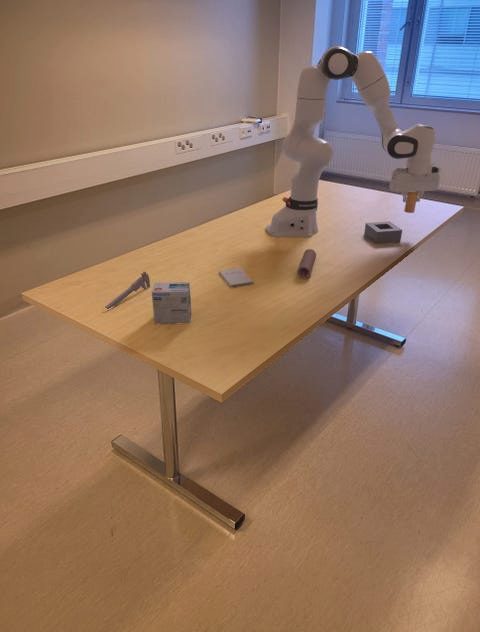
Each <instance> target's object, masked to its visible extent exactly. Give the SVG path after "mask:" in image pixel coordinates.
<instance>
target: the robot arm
mask: <svg viewBox="0 0 480 632" xmlns="http://www.w3.org/2000/svg"><path fill="white" fill-rule="evenodd" d="M347 78H350V79H351V80H352V81H353V83H354V85H355V88H356V90H357V92H358V95H359V96H360V98H361V100H362V101H363V103H364V104H365V106H366V107H367V109H369V110H370V111H371V113H373V116H374V118H375V120H376V122H377V125H378V127H379V130H380V132H381V145H382V149H383V150H384V152H385V153H387V154H388V155H389V156H390V157H391V158H393V159H397V160H400V159H406V164H405V165H406V166H405V167H397V168H396V169H394V170H393V171H392V173H391V174H392V175H391V178H390V183H389V190H390V191H391V192H393V193H401V196H402V202H403V203H406V202H408V198H407V193H408V192H410V191H415V192H418V195H417V200H416V203H419V202H421V198H422V196H424V194H425V192H430V191H431V192H433V191H437V190H438V188H439V187H440V186H439V185H440V180H441V175H440V173H441V170H442V169H441V167H439V166H437V165H434V163H433V164H432V163H431V157H432V152H433V149H434V145H435V139H436V131H435V129H434V128H433V127H432V126H430V125H428V124H424V123H416V124H415V125H413V126H411V127H409V128H408V129H405V130H403V128H401V127H400V126H398V124H397V122H396V120H395V117H394V114H393V112H392V110H391V107H390V98H391V88H390V87H391V86H390V84H389V80H388V77H387V74H386V72H385V70H384V68H383V66H382V65H381V62H380V60H379V59H378V58H377V56H376V55H375V53H374V52H373V51H371V50H364V51H360V52H359V53H357V54H355V53H353V52H351V50H349V49H348V48H347V47H345V46H343V45H333V46H331V47H329V48H327V49H326V50H325V52H324V53H323V54H322V56H321V58H320V59H319V61H318V63H317V64H316V65H309V66H305V68H303V69H302V70H301V73H300V76H299V79H298V85H297V93H296V105H295V106H296V107H295V114H294V119H293V120H294V121H293V124H292V127H291V130H290V131H289V133H288V134H287V135H286V136H285V137H284V138H283V140H282V143H281V153H282V154H283V155H284V156H285V157H286V158H288V159H289V160H290V161H292V162H295V163H299V164H300V165H299V170H298V172H297V173H295V175H293V177H292V178H291V182H290V184H291V185H290V196H289V197H286V196H284V197H282V199H281V200H282V201H283V202H284V203H285V206H283V208H281V209H280V210H278V211H276V212H275V213H274V214H273V216H272V218H271V223H270V224H266V226H265V230H266V231H265V232H266V233H268V234H269V235H270V236H271V237H274V238H310V237H312V236H313V235H315V234H317V233H318V232H319V228H318V222H317V221H318V220H317V211H318V204H319V203H318V202H319V201H318V200H319V199H318V189H319V182H320V177H321V176H322V173H323V171H324V170H325V168H326V167H328V166H329V165H330V164H331V162H333V159H334V155H335V151H334V147H333V145H332V144H331V143H330V142H328V141H327V140H325V139H323V138H320V137H316V136H315V131H316V129H317V128H318V126H319V125H320V124H321V123H323V121H324V118H325V109H326V99H327V89H328V85H329V83H330V81H332V80H335V81H340V80H343V79H344V80H345V79H347Z"/></svg>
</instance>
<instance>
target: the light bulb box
mask: <svg viewBox="0 0 480 632" xmlns="http://www.w3.org/2000/svg"><path fill="white" fill-rule="evenodd" d="M190 286H191V285H190V281H181V282H177V281H175V282H154V283H153V286H152V290H151V298H152V299H151V300H152V301H151V302H152V308H153V309H152V310H153V320H154V324H155V323H190V324H191V321H190V320H191V319H192V299H191V287H190Z"/></svg>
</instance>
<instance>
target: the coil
mask: <svg viewBox="0 0 480 632" xmlns="http://www.w3.org/2000/svg"><path fill="white" fill-rule="evenodd" d="M301 258H302V259H301V260H300V263H299V266H298V268H297V271H296V272H297V275H298V276H299V277H301V278H302V279H303V280H306V279H309V278H310V276H311V274H312V270H313V268H314V264H315V261H316V260H317V259H316V258H317V252H316V251H315V250H314V249H311V248H308V249H305V251H304V252H303V255H302V257H301Z"/></svg>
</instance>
